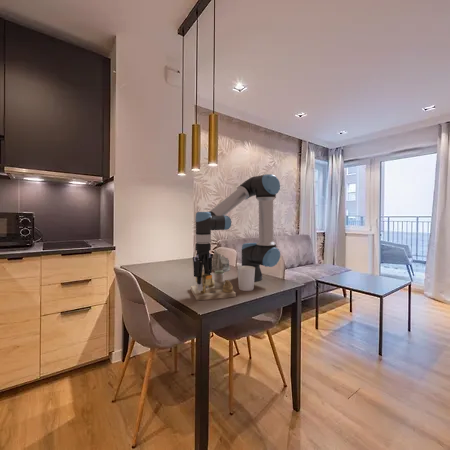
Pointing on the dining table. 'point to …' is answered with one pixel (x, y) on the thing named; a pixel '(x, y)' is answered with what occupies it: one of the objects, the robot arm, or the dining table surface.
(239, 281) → the candle holder
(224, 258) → the ceramic cottage
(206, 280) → the wing knob
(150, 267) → the dining table surface
